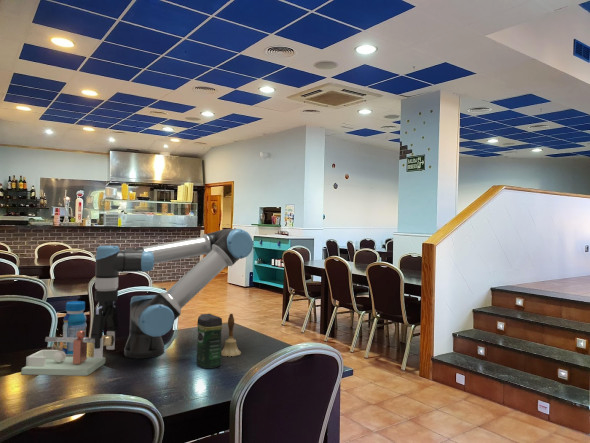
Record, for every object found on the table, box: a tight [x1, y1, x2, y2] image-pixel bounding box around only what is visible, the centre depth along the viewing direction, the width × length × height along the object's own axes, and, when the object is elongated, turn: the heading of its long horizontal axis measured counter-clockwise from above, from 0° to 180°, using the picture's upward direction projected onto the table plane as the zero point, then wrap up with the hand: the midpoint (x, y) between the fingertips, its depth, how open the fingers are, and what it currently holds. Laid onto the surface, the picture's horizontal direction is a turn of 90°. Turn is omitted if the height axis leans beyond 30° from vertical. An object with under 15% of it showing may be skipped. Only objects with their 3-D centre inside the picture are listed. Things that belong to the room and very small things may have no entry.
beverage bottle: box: [61, 300, 88, 357], centre depth 170 cm, size 8×8×20 cm
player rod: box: [44, 330, 114, 364], centre depth 152 cm, size 23×5×11 cm, turn 91°
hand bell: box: [221, 313, 242, 357], centre depth 174 cm, size 8×8×16 cm
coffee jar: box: [195, 313, 223, 369], centre depth 159 cm, size 10×8×19 cm
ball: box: [53, 350, 67, 363], centre depth 151 cm, size 4×4×4 cm
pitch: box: [20, 349, 106, 377], centre depth 151 cm, size 22×14×5 cm, turn 91°
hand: (104, 353), depth 152 cm, fingers open, 9 cm apart
